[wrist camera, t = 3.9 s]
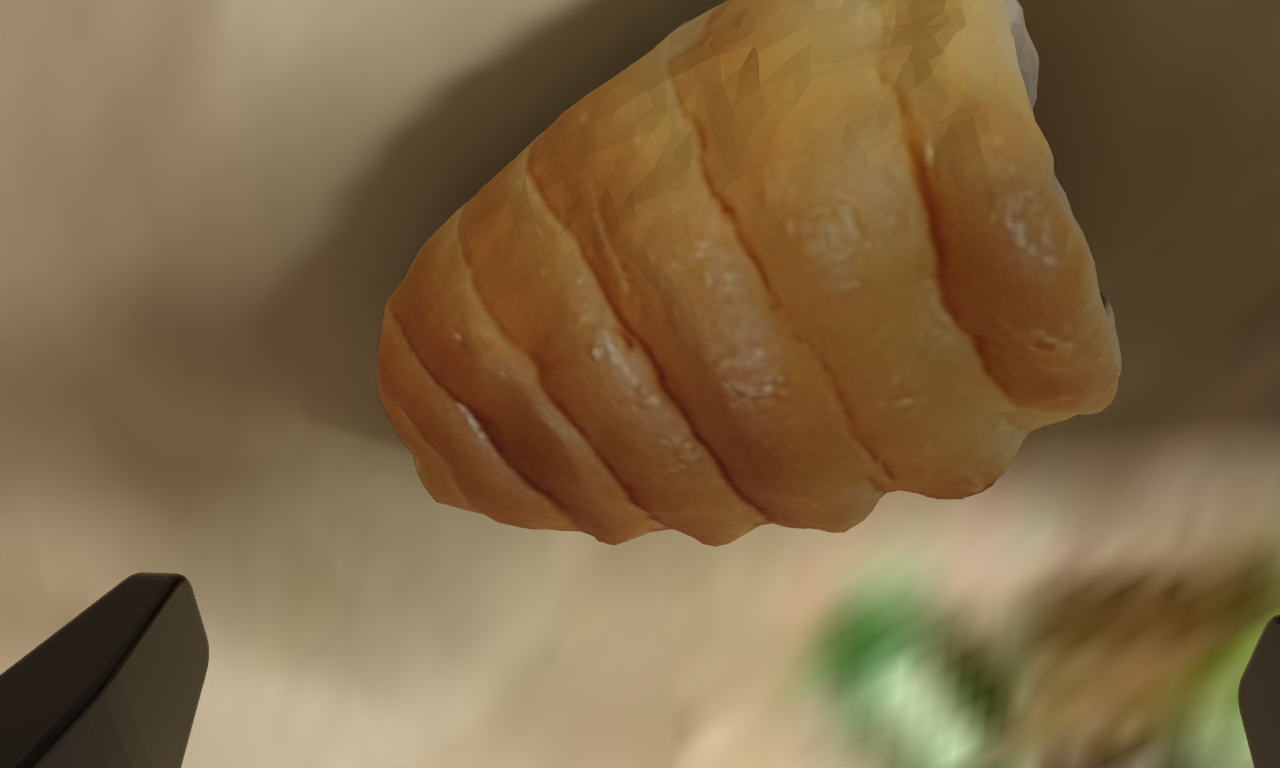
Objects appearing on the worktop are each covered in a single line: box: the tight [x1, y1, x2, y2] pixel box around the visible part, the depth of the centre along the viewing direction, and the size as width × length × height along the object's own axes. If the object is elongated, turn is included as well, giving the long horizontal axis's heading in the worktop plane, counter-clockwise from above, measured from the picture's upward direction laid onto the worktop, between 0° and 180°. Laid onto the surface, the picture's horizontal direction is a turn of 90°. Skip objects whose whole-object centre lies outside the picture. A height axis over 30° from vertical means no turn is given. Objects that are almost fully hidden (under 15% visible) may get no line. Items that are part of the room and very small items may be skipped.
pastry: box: [377, 0, 1122, 547], centre depth 14 cm, size 9×7×4 cm
